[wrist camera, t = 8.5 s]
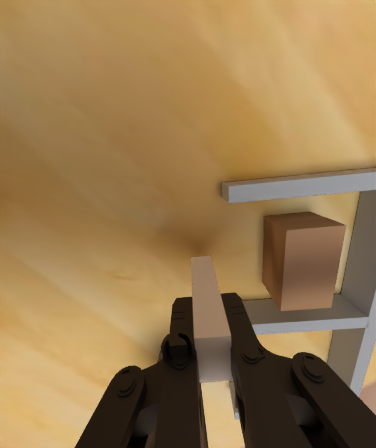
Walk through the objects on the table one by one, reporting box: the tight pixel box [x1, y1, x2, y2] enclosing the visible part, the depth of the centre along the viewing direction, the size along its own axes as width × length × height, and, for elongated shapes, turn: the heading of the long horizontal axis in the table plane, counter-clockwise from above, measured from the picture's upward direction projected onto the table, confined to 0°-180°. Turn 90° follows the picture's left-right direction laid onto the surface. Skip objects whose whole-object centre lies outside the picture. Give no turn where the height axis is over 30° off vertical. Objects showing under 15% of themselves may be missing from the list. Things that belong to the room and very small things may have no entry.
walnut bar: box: [262, 212, 346, 311], centre depth 15 cm, size 7×4×4 cm, turn 6°
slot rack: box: [221, 167, 376, 419], centre depth 17 cm, size 26×13×3 cm, turn 6°
